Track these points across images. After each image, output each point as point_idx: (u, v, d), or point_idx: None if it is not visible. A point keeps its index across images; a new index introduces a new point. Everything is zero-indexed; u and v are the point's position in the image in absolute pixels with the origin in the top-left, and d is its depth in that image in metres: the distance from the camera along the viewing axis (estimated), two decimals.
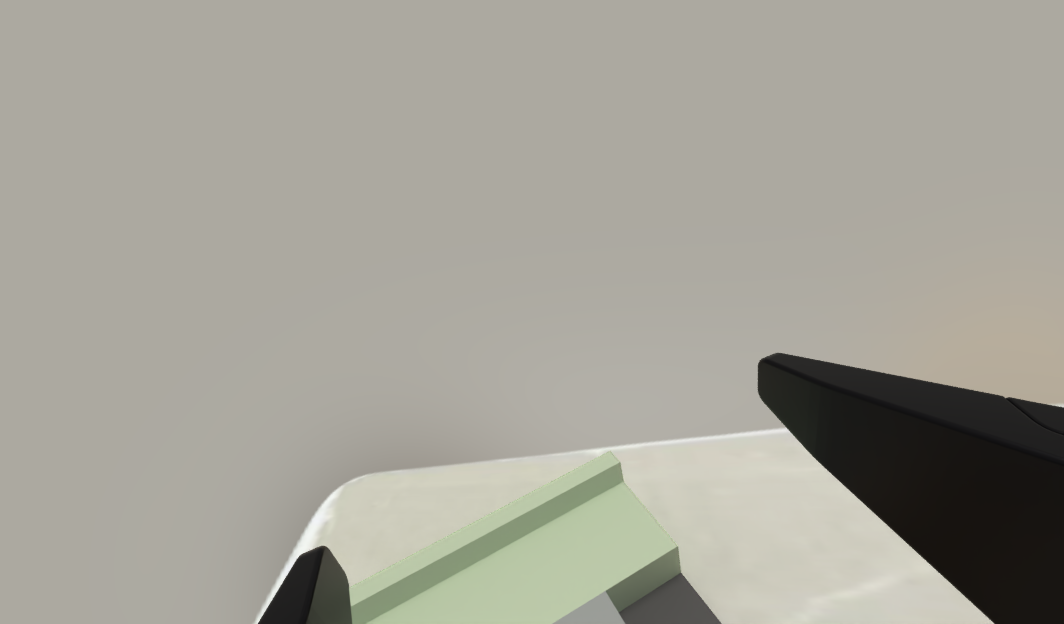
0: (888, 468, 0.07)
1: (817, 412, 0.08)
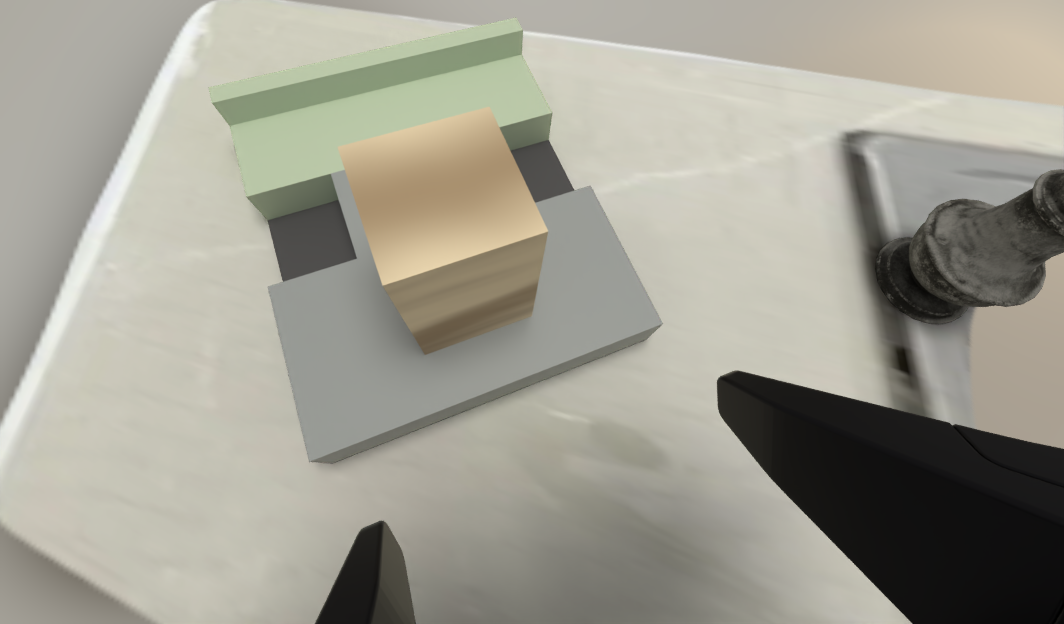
0: (838, 493, 0.07)
1: (771, 433, 0.08)
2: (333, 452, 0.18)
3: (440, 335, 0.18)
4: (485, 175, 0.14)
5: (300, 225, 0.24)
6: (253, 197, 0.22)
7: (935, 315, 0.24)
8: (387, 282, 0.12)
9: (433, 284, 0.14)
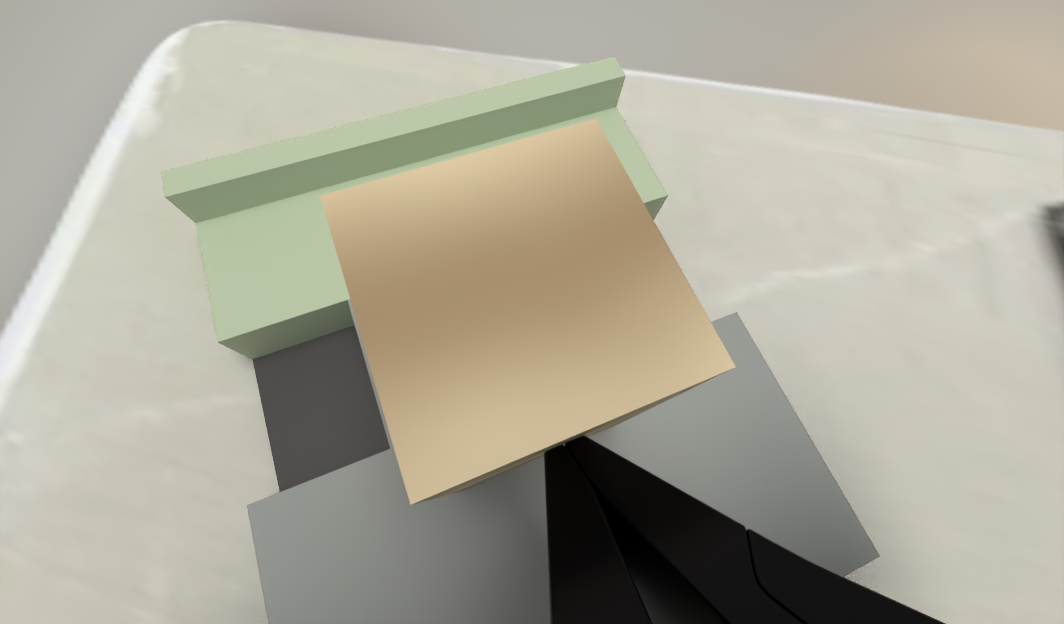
0: (651, 589, 0.06)
1: None
2: None
3: (488, 478, 0.11)
4: (602, 248, 0.07)
5: (301, 367, 0.16)
6: (228, 341, 0.14)
7: None
8: (420, 496, 0.06)
9: (505, 466, 0.07)
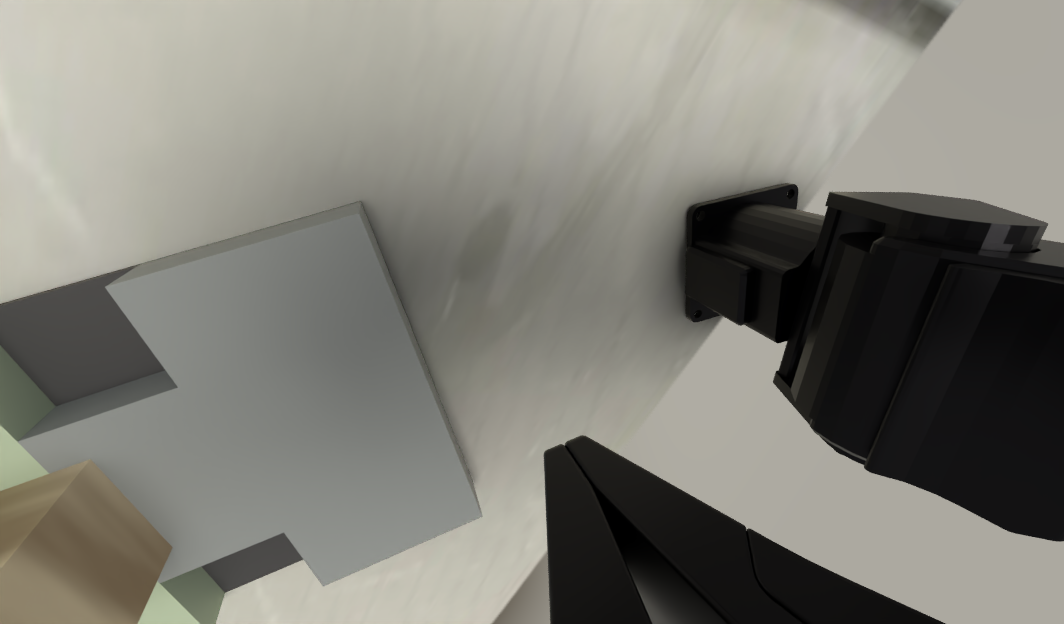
0: (651, 590, 0.06)
1: None
2: (476, 502, 0.23)
3: (139, 572, 0.16)
4: None
5: (227, 566, 0.22)
6: None
7: None
8: None
9: None
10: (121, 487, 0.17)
